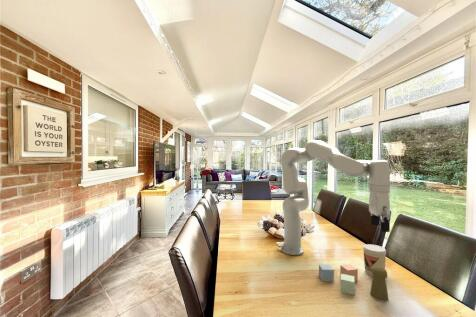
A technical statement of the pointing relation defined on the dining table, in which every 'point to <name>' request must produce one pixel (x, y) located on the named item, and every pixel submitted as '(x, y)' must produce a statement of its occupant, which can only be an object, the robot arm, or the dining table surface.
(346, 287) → the sage cube
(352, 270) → the terracotta cube
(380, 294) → the cork
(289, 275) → the dining table surface
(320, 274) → the slate cube
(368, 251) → the coffee cup
